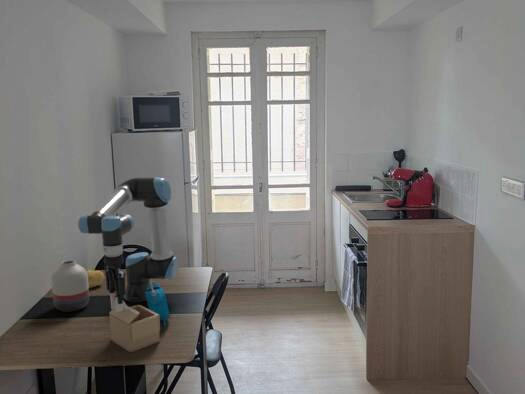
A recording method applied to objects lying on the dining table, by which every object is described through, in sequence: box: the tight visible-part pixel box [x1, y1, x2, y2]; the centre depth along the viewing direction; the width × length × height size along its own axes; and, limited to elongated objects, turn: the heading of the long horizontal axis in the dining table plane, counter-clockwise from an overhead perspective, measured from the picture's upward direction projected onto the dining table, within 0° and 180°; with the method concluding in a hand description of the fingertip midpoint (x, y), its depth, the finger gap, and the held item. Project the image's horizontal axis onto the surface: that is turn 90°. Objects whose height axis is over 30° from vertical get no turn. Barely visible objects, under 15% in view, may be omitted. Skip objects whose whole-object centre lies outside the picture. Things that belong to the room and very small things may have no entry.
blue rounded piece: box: [146, 280, 171, 327], centre depth 236 cm, size 17×10×20 cm, turn 15°
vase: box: [51, 259, 90, 313], centre depth 254 cm, size 17×17×24 cm
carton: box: [108, 304, 161, 353], centre depth 218 cm, size 17×15×12 cm
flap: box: [108, 291, 140, 324], centre depth 211 cm, size 16×7×10 cm, turn 44°
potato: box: [86, 269, 106, 289], centre depth 284 cm, size 10×14×10 cm
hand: (117, 309), depth 211 cm, fingers closed on flap, 4 cm apart
